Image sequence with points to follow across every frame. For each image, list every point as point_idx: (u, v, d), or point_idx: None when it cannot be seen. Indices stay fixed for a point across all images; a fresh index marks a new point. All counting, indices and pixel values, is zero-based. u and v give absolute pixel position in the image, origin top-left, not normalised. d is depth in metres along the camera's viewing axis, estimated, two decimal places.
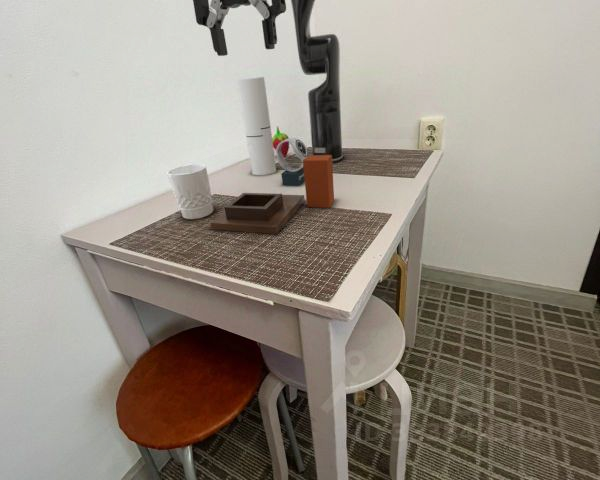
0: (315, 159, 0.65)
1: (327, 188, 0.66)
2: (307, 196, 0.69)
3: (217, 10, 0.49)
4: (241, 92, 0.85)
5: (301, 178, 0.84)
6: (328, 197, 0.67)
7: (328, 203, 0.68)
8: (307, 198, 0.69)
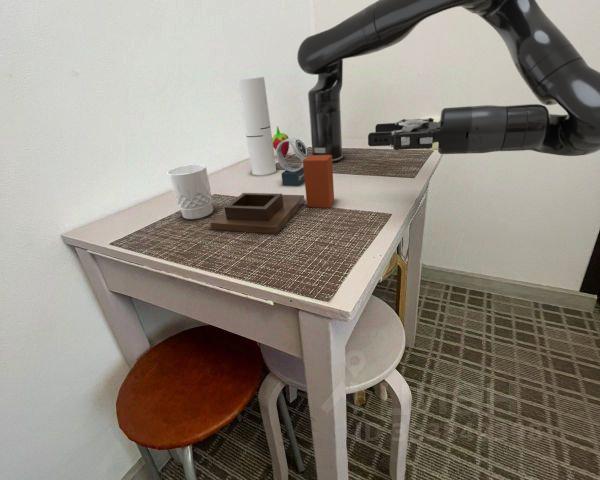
0: (315, 159, 0.65)
1: (327, 188, 0.66)
2: (307, 196, 0.69)
3: None
4: (241, 92, 0.85)
5: (301, 178, 0.84)
6: (328, 197, 0.67)
7: (328, 203, 0.68)
8: (307, 198, 0.69)
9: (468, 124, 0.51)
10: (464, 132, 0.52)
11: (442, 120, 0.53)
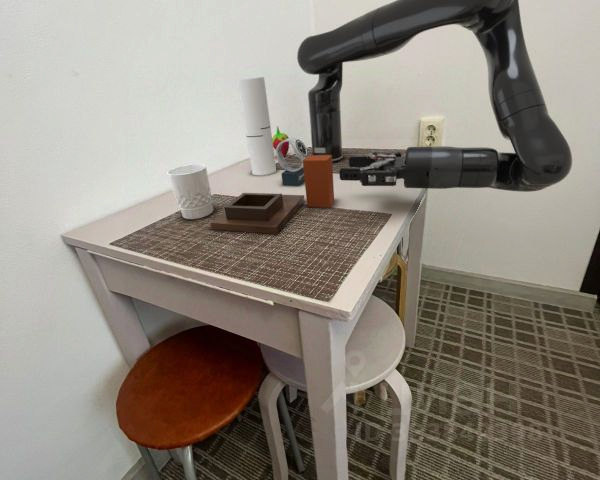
0: (315, 159, 0.65)
1: (327, 188, 0.66)
2: (307, 196, 0.69)
3: None
4: (241, 92, 0.85)
5: (301, 178, 0.84)
6: (328, 197, 0.67)
7: (328, 203, 0.68)
8: (307, 198, 0.69)
9: (428, 164, 0.57)
10: (425, 171, 0.57)
11: (406, 159, 0.58)
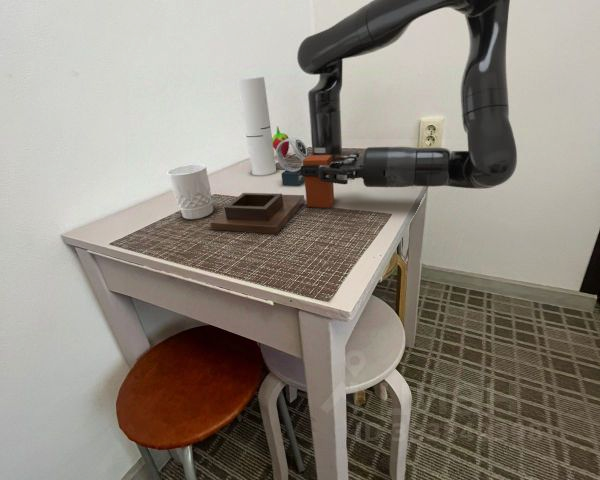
0: (315, 159, 0.65)
1: (327, 188, 0.66)
2: (307, 196, 0.69)
3: None
4: (241, 92, 0.85)
5: (301, 178, 0.84)
6: (328, 197, 0.67)
7: (328, 203, 0.68)
8: (307, 198, 0.69)
9: (384, 164, 0.59)
10: (381, 170, 0.59)
11: (364, 159, 0.60)
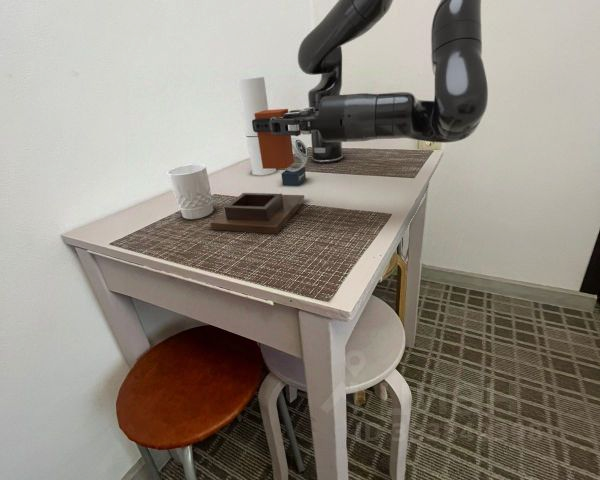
0: (268, 112, 0.58)
1: (282, 145, 0.59)
2: (262, 156, 0.62)
3: None
4: (241, 92, 0.85)
5: (301, 178, 0.84)
6: (284, 156, 0.60)
7: (285, 163, 0.61)
8: (262, 158, 0.62)
9: (341, 111, 0.52)
10: (338, 119, 0.52)
11: (319, 108, 0.53)
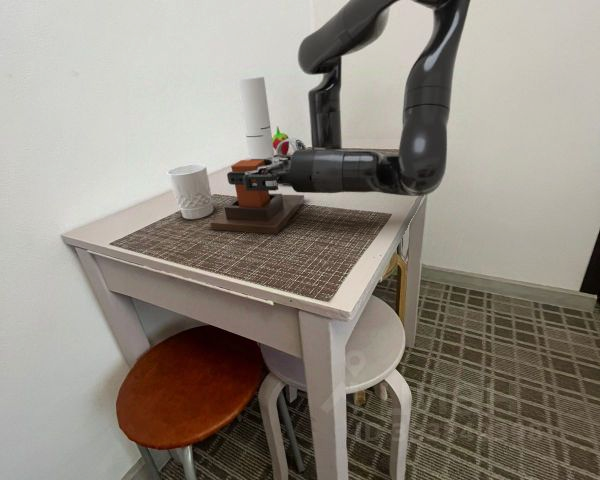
0: (244, 165, 0.60)
1: (258, 196, 0.62)
2: (239, 204, 0.64)
3: None
4: (241, 92, 0.85)
5: None
6: (260, 205, 0.63)
7: None
8: None
9: (310, 168, 0.54)
10: (307, 175, 0.55)
11: (290, 163, 0.56)
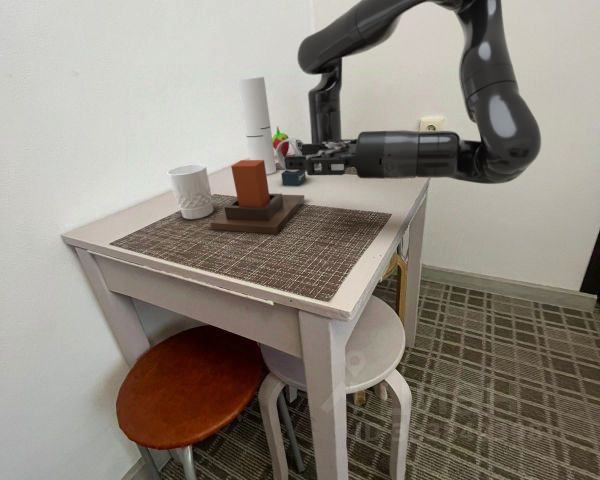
0: (244, 165, 0.60)
1: (258, 196, 0.62)
2: (239, 204, 0.64)
3: None
4: (241, 92, 0.85)
5: (301, 178, 0.84)
6: (260, 205, 0.63)
7: None
8: None
9: (380, 150, 0.50)
10: (377, 158, 0.50)
11: (356, 145, 0.51)
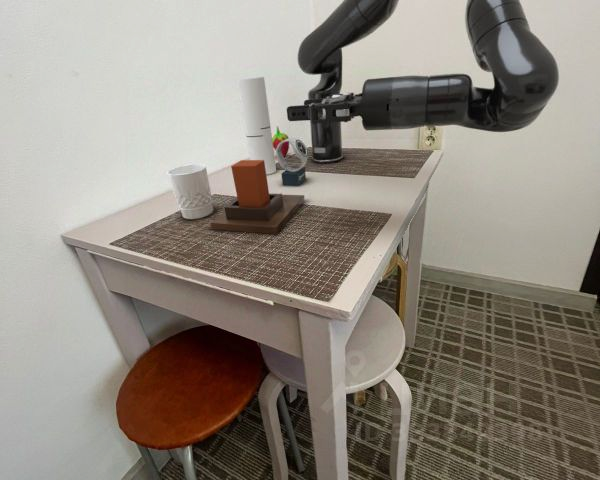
0: (244, 165, 0.60)
1: (258, 196, 0.62)
2: (239, 204, 0.64)
3: None
4: (241, 92, 0.85)
5: (301, 178, 0.84)
6: (260, 205, 0.63)
7: None
8: None
9: (388, 95, 0.47)
10: (384, 104, 0.48)
11: (362, 91, 0.49)
